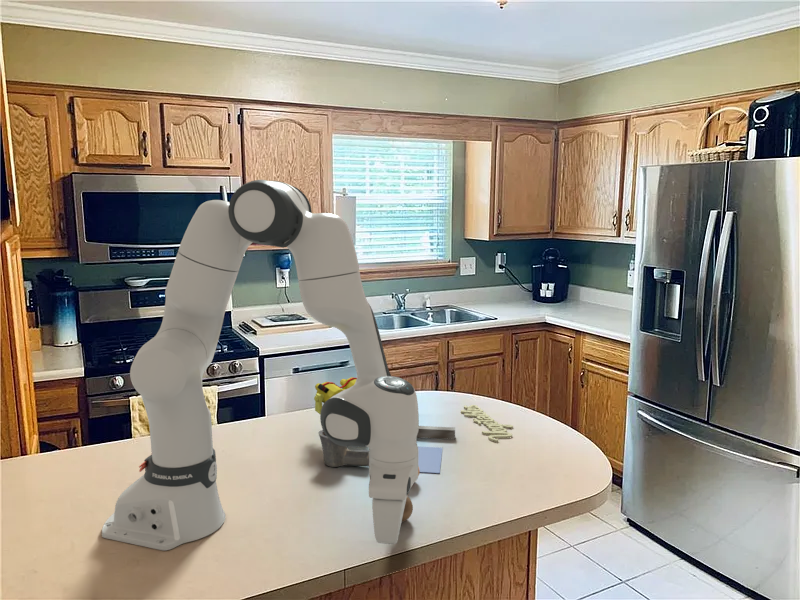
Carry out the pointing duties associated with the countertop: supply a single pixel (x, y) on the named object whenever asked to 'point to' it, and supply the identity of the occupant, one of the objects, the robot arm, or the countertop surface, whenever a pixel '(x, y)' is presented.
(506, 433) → the decorative sign
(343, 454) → the pipe
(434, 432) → the rail
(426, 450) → the blue mark
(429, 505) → the countertop surface
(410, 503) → the walnut ball
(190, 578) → the countertop surface
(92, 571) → the countertop surface
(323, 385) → the toy
